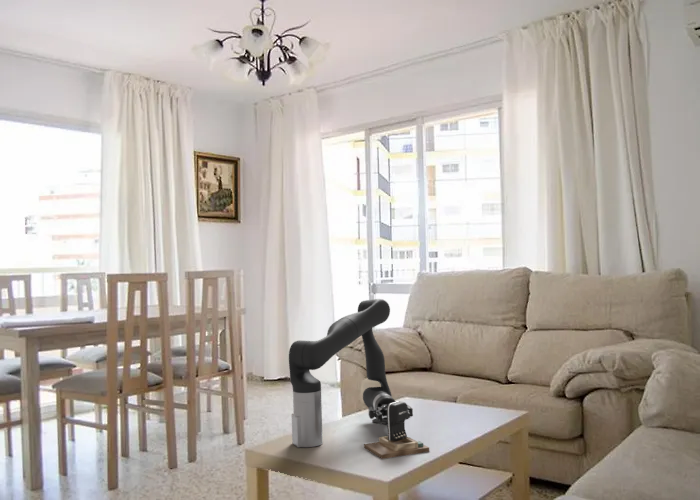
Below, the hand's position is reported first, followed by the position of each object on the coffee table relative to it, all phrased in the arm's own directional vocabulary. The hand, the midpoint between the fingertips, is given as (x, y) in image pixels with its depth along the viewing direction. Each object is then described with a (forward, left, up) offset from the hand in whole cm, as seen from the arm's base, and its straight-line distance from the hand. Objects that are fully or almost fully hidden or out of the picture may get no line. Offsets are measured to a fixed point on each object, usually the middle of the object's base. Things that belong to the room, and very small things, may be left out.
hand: (394, 416), depth 199 cm
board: (-2, -5, -9) cm, 10 cm away
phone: (+14, +31, -9) cm, 35 cm away
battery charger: (-1, -4, -6) cm, 8 cm away
